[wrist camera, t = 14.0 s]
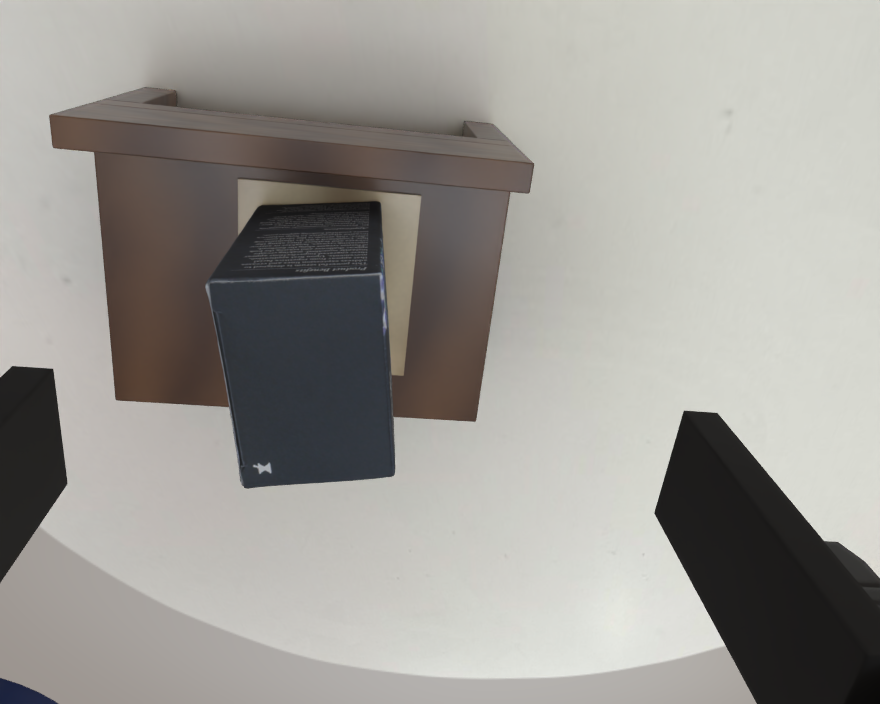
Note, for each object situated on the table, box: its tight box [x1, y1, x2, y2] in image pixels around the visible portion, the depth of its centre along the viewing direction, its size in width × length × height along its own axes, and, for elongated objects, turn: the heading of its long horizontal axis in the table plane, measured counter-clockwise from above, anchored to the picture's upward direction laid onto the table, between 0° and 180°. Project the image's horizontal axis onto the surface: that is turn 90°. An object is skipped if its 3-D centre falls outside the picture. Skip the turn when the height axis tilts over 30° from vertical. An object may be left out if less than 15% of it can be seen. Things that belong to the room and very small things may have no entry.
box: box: [205, 201, 395, 488], centre depth 29 cm, size 8×6×11 cm
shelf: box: [49, 87, 534, 422], centre depth 35 cm, size 18×14×12 cm
